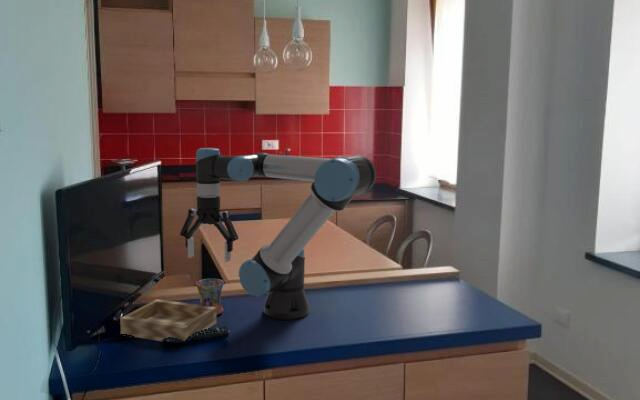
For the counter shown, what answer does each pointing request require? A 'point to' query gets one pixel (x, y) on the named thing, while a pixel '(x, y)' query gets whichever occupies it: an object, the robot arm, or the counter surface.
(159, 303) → the wooden tray
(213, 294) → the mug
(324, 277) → the counter surface
